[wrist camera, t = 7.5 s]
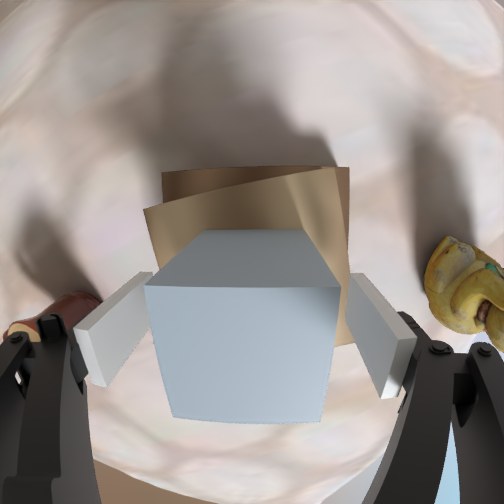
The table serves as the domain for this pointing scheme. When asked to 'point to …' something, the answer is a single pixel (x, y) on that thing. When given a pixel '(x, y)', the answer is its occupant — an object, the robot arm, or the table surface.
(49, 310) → the mug
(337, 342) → the slab upper
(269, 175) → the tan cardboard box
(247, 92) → the table surface
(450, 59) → the table surface
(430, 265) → the decorative figurine
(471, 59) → the table surface
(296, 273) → the block
